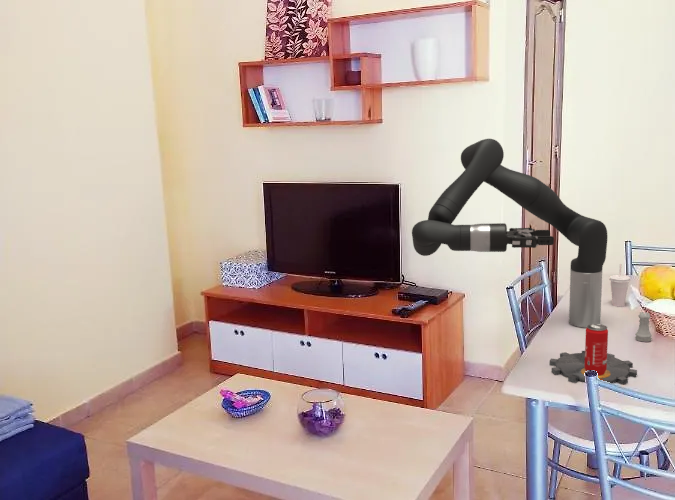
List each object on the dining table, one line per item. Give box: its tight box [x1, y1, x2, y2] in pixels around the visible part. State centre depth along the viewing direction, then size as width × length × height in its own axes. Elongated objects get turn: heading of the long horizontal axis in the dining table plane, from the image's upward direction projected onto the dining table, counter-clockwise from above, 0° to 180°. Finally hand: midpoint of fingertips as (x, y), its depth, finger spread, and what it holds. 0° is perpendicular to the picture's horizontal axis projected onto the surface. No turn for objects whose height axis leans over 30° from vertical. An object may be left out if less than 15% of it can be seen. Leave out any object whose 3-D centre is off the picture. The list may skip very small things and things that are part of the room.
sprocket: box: [548, 350, 638, 385], centre depth 177 cm, size 21×21×3 cm
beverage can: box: [584, 323, 609, 376], centre depth 171 cm, size 5×5×12 cm
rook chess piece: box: [634, 311, 653, 343], centre depth 196 cm, size 4×4×8 cm
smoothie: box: [609, 263, 631, 308], centre depth 228 cm, size 6×6×14 cm
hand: (551, 237), depth 177 cm, fingers open, 8 cm apart
